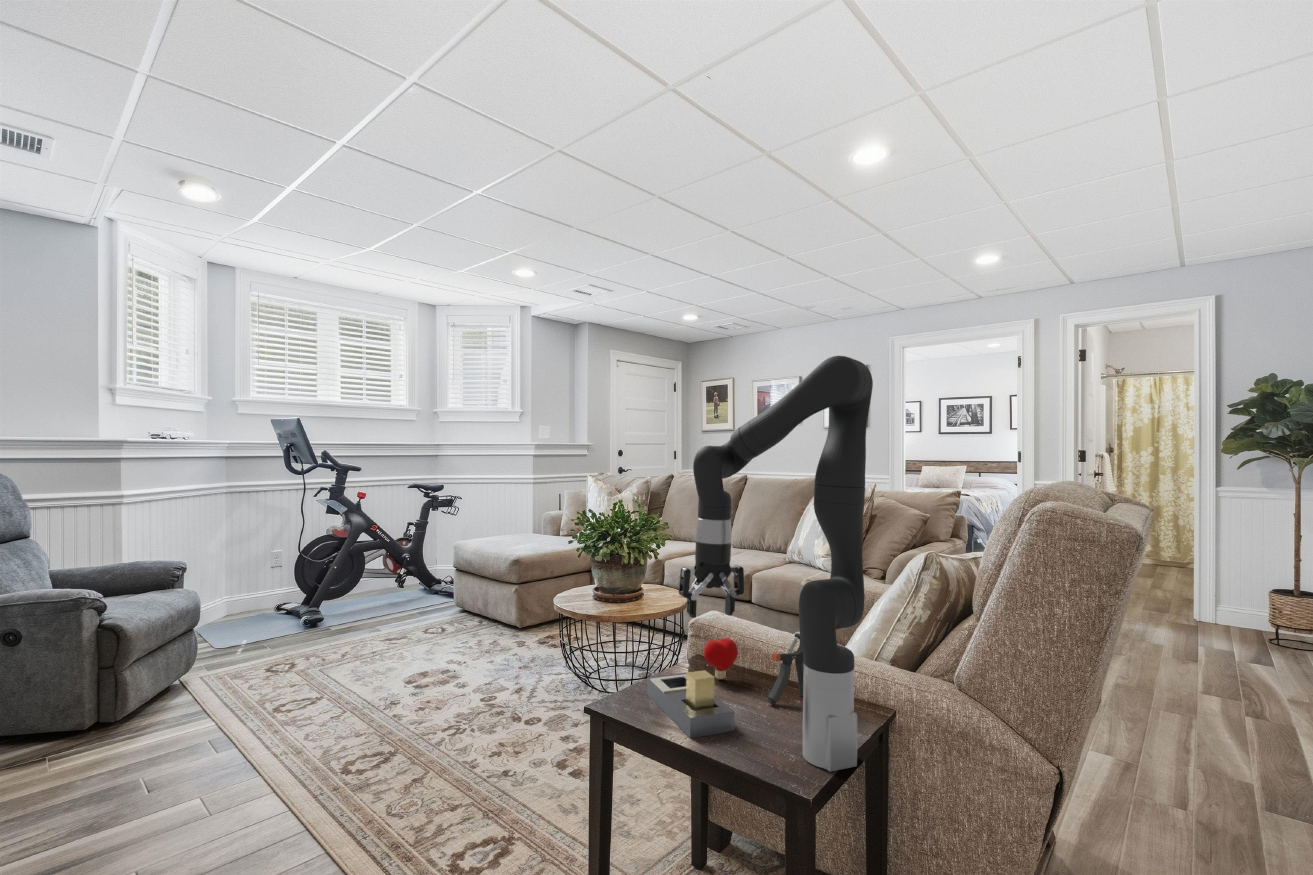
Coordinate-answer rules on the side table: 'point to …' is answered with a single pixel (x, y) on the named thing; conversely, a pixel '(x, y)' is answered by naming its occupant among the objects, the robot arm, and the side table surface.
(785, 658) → the hand grip strengthener
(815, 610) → the robot arm
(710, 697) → the brass block
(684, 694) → the grey peg holder block
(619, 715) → the side table surface
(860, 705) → the side table surface
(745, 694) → the side table surface
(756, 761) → the side table surface
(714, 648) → the red two-lobed part
